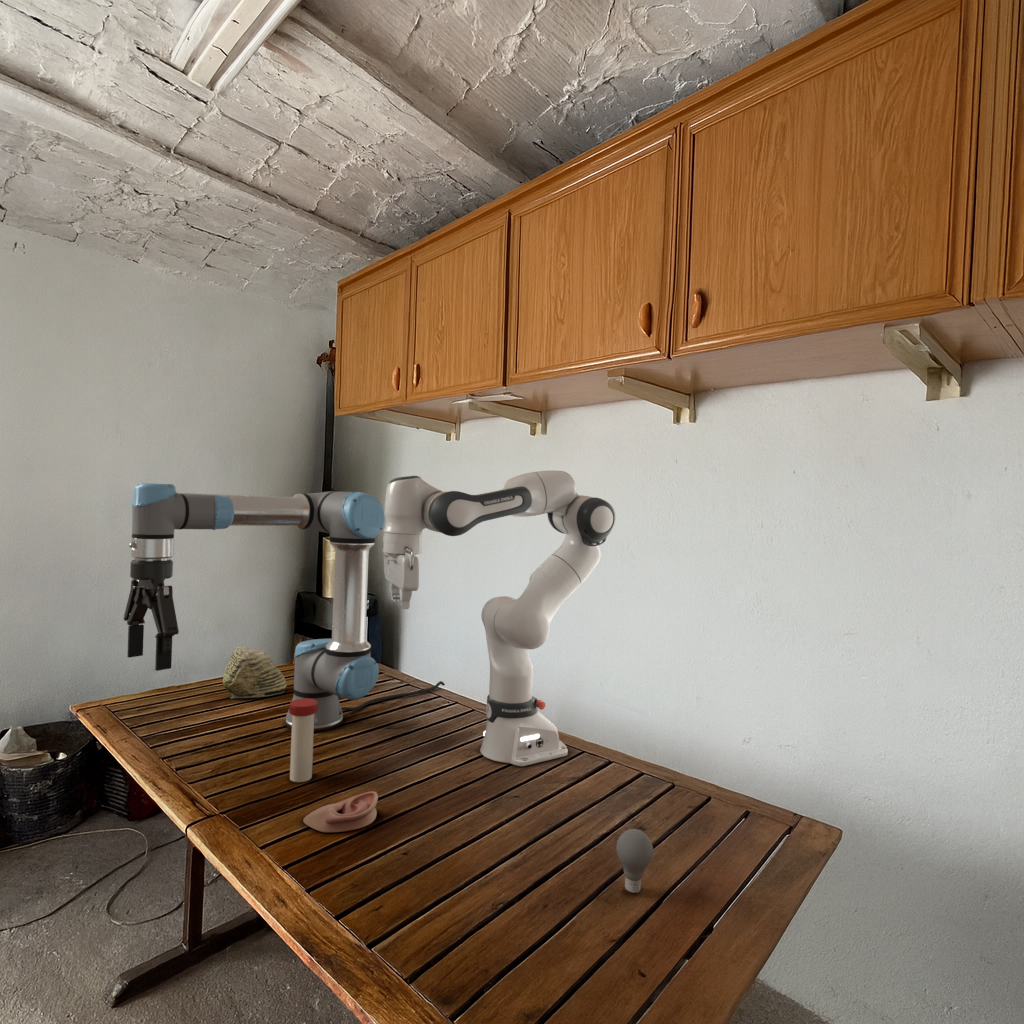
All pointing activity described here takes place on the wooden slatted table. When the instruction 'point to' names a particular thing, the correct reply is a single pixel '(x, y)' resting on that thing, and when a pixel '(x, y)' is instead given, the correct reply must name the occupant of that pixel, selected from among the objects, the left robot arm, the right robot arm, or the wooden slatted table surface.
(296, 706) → the lid
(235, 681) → the fossil
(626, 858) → the light bulb
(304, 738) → the white cylindrical bottle
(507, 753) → the right robot arm
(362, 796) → the anatomical model
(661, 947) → the wooden slatted table surface
